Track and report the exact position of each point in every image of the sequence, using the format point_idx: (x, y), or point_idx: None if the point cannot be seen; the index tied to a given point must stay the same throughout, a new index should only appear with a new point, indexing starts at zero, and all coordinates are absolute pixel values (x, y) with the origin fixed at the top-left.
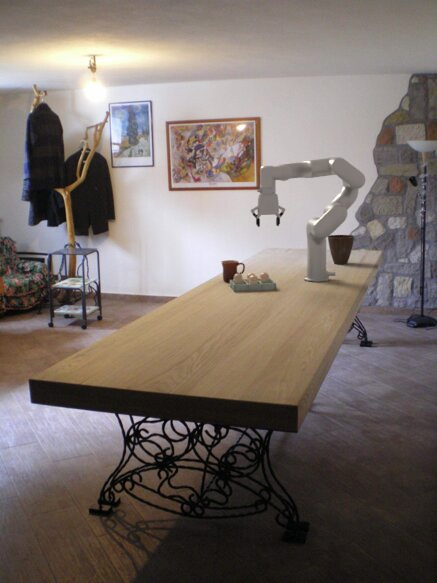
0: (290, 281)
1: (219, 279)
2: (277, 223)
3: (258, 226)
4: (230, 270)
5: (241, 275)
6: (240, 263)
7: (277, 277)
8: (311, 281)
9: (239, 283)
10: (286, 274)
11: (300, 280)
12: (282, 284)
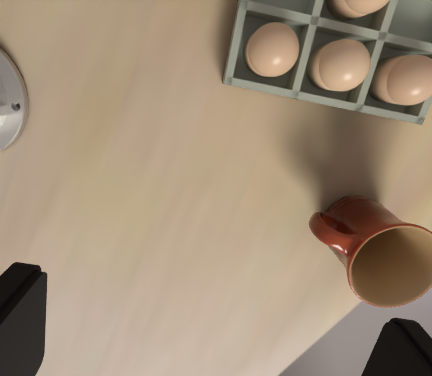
0: (104, 111)
1: None
2: (21, 300)
3: (412, 321)
4: (390, 215)
5: (406, 67)
6: (345, 236)
7: (129, 222)
8: (4, 52)
9: (411, 40)
10: (69, 266)
11: (49, 114)
12: (167, 56)
